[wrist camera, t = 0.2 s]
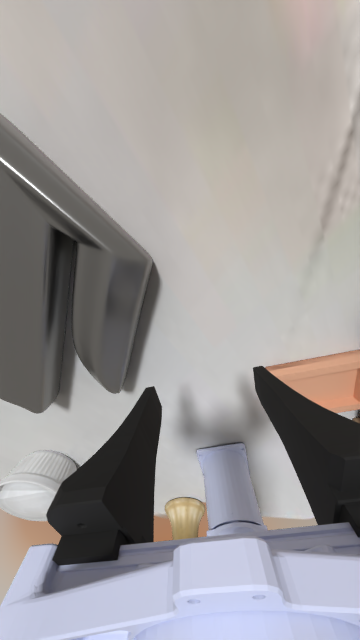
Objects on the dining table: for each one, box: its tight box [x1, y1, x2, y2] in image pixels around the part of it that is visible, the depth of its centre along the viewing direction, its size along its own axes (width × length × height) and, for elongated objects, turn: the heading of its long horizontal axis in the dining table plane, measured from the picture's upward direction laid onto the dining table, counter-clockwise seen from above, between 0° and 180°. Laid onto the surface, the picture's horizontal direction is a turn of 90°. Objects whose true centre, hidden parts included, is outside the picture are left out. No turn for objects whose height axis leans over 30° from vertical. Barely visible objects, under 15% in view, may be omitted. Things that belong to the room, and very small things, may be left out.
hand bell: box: [165, 497, 205, 540], centre depth 31 cm, size 8×8×16 cm
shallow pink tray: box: [265, 350, 360, 413], centre depth 24 cm, size 8×12×2 cm, turn 104°
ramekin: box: [0, 450, 77, 521], centre depth 31 cm, size 11×11×5 cm
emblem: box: [0, 114, 152, 414], centre depth 19 cm, size 28×5×28 cm
